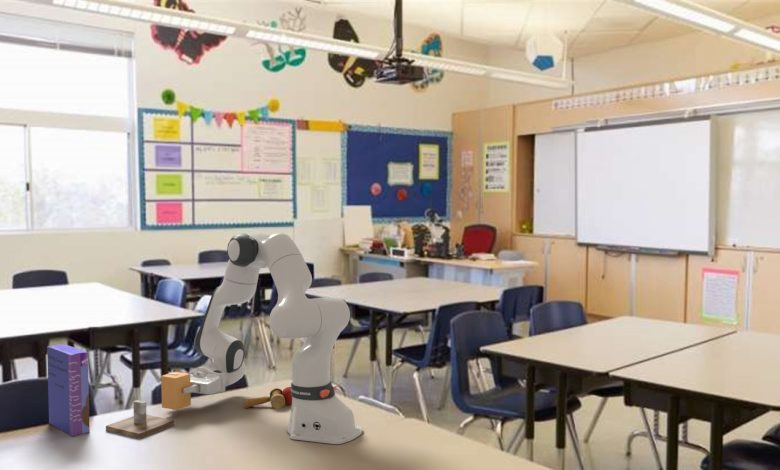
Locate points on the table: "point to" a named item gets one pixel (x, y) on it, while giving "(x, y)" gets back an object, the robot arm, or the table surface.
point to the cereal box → (68, 389)
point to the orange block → (175, 390)
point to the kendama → (272, 398)
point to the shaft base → (138, 428)
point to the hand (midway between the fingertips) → (173, 389)
